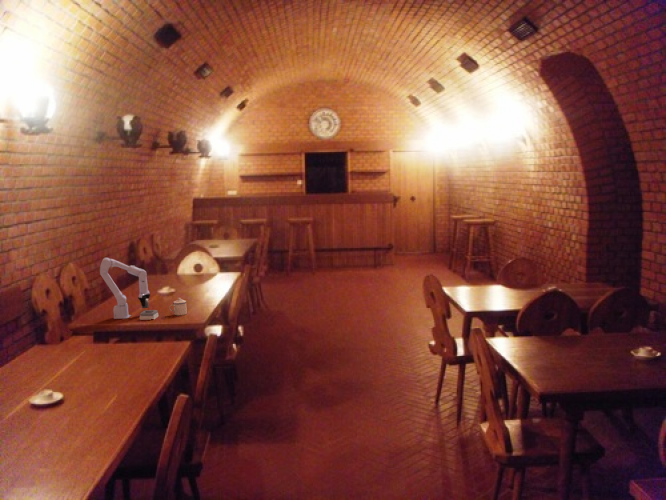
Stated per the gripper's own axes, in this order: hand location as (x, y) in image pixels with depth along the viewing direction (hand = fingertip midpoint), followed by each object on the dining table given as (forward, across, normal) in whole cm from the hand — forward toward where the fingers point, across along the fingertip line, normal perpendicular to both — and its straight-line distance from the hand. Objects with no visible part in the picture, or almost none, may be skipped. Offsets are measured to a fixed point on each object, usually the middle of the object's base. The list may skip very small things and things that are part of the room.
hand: (145, 305), depth 421 cm
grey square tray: (+7, -9, -6) cm, 13 cm away
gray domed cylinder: (+2, 0, 0) cm, 2 cm away
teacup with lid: (+7, 0, -24) cm, 25 cm away
